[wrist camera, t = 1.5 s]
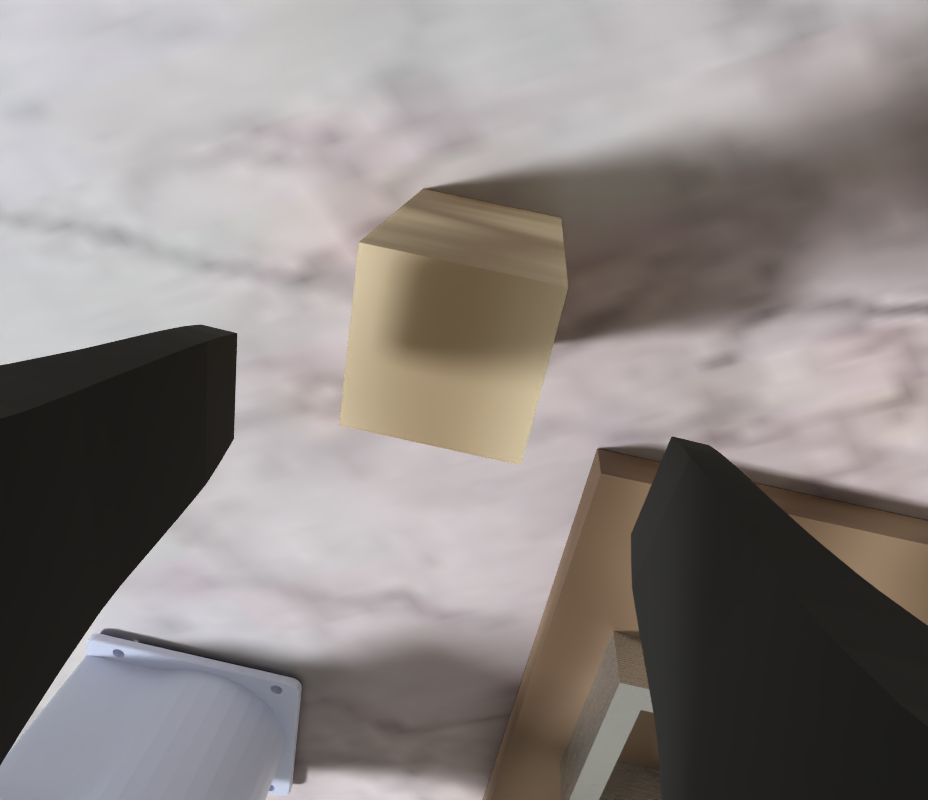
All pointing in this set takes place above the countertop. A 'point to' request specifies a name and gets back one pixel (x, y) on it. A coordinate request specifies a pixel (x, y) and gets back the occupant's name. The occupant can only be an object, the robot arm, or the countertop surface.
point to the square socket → (610, 730)
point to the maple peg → (454, 324)
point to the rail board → (612, 609)
